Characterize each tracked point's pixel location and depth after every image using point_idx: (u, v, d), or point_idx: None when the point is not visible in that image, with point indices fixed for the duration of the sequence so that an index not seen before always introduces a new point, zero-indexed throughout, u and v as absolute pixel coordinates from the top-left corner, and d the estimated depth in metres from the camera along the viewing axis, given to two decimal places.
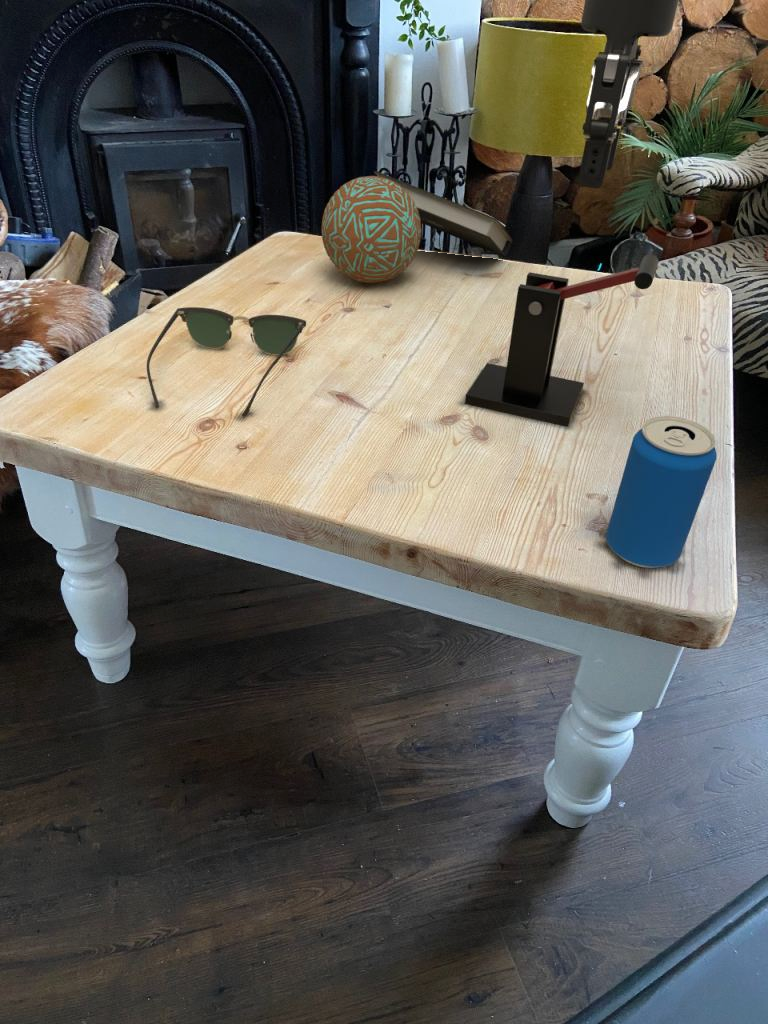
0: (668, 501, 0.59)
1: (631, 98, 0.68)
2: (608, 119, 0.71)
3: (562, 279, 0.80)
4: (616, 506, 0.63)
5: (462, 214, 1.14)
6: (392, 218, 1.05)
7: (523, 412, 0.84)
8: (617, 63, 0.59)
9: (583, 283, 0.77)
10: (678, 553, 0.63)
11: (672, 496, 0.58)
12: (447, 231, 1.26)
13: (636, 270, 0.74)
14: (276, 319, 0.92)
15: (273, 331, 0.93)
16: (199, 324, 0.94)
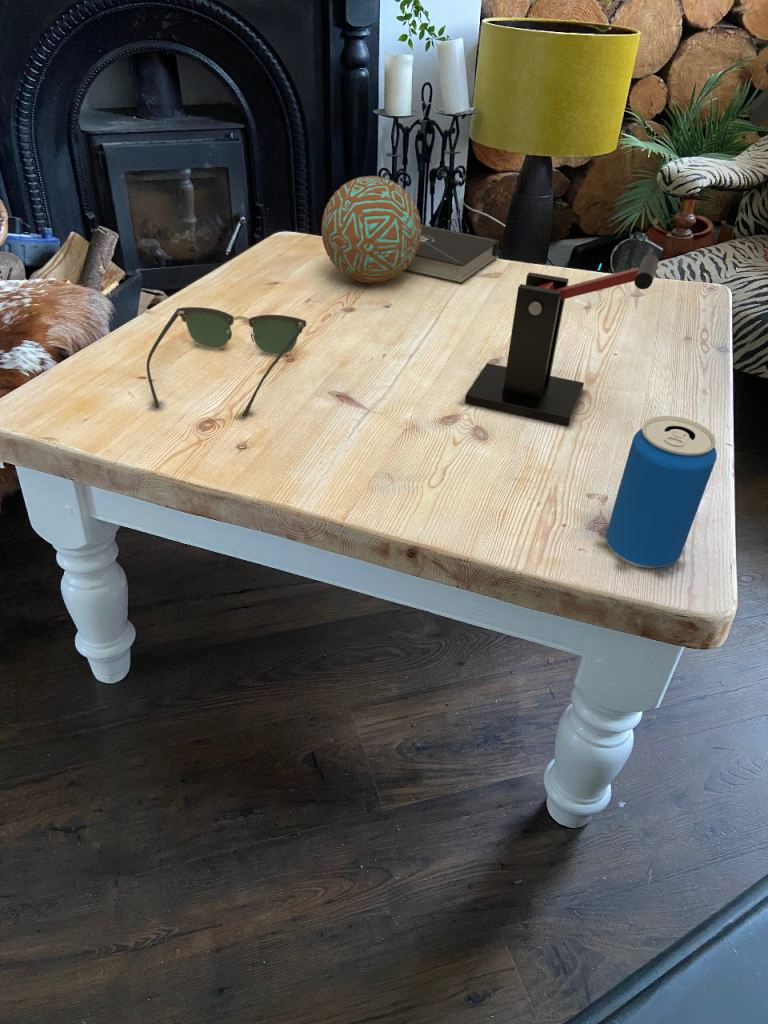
0: (668, 501, 0.59)
1: None
2: None
3: (562, 279, 0.80)
4: (616, 506, 0.63)
5: (432, 262, 1.18)
6: (392, 218, 1.05)
7: (523, 412, 0.84)
8: None
9: (583, 283, 0.77)
10: (678, 553, 0.63)
11: (672, 496, 0.58)
12: None
13: (636, 270, 0.74)
14: (276, 319, 0.92)
15: (273, 331, 0.93)
16: (199, 324, 0.94)
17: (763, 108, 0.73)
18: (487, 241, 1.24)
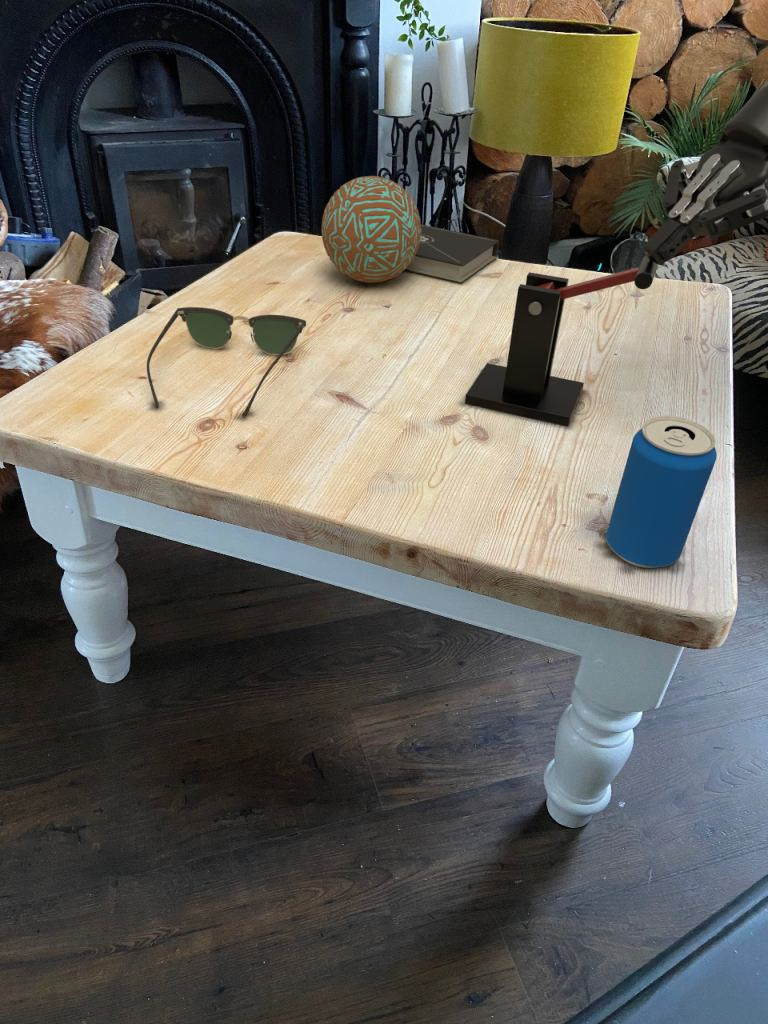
0: (668, 501, 0.59)
1: None
2: None
3: (562, 279, 0.80)
4: (616, 506, 0.63)
5: (431, 262, 1.18)
6: (392, 218, 1.05)
7: (523, 412, 0.84)
8: (763, 211, 0.68)
9: (583, 283, 0.77)
10: (678, 553, 0.63)
11: (672, 496, 0.58)
12: None
13: (636, 270, 0.74)
14: (276, 319, 0.92)
15: (273, 331, 0.93)
16: (199, 324, 0.94)
17: None
18: (487, 241, 1.24)
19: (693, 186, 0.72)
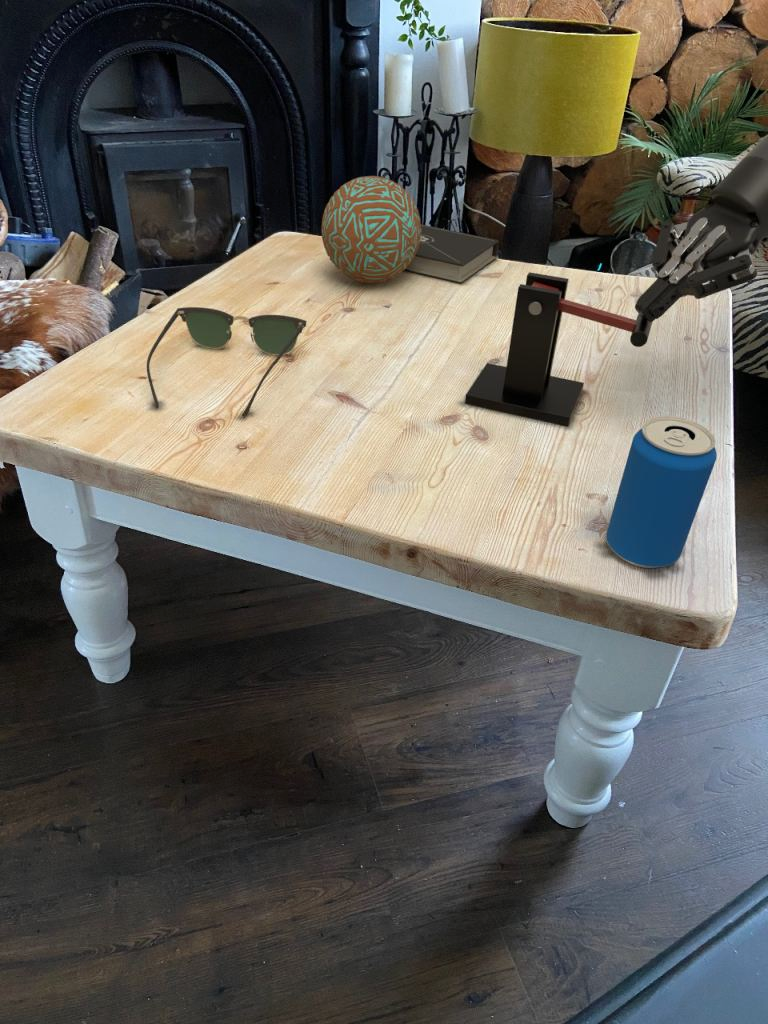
0: (668, 501, 0.59)
1: None
2: None
3: (562, 279, 0.80)
4: (616, 506, 0.63)
5: (431, 262, 1.18)
6: (392, 218, 1.05)
7: (523, 412, 0.84)
8: (748, 275, 0.71)
9: (585, 307, 0.79)
10: (678, 553, 0.63)
11: (672, 496, 0.58)
12: None
13: (635, 323, 0.77)
14: (276, 319, 0.92)
15: (273, 331, 0.93)
16: (199, 324, 0.94)
17: None
18: (487, 241, 1.24)
19: (681, 248, 0.75)
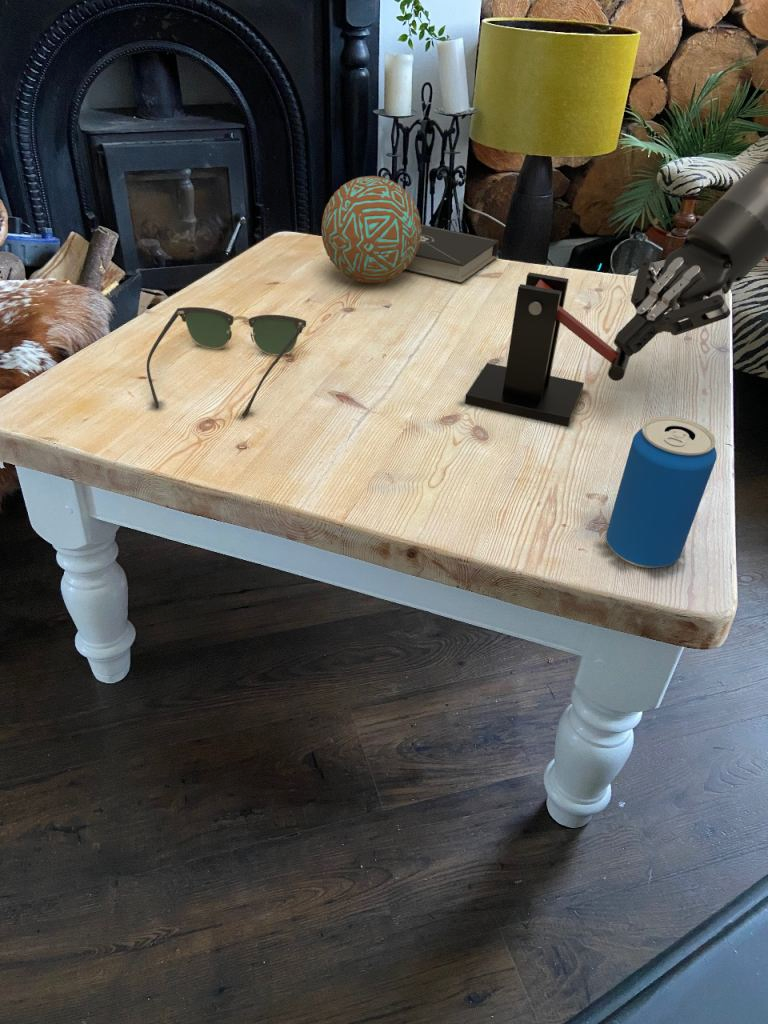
0: (668, 501, 0.59)
1: None
2: None
3: (562, 279, 0.80)
4: (616, 506, 0.63)
5: (431, 262, 1.18)
6: (392, 218, 1.05)
7: (523, 412, 0.84)
8: (721, 314, 0.74)
9: (578, 323, 0.80)
10: (678, 553, 0.63)
11: (672, 496, 0.58)
12: None
13: (616, 355, 0.80)
14: (276, 319, 0.92)
15: (273, 331, 0.93)
16: (199, 324, 0.94)
17: None
18: (487, 241, 1.24)
19: (658, 286, 0.78)
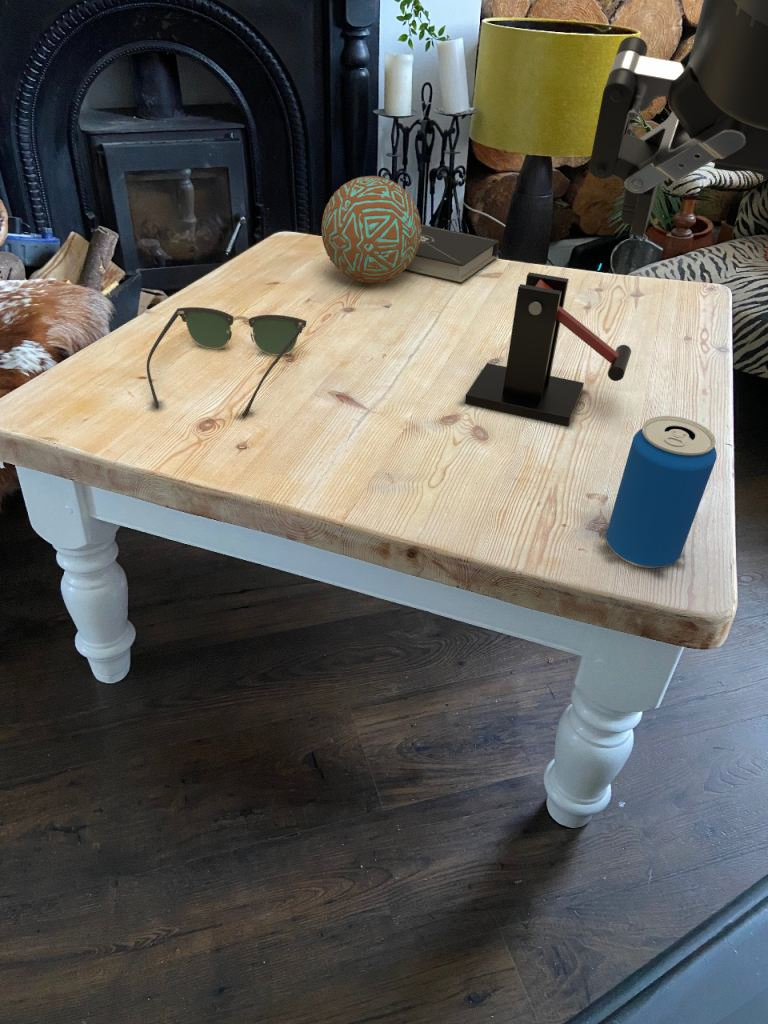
0: (668, 501, 0.59)
1: None
2: None
3: (562, 279, 0.80)
4: (616, 506, 0.63)
5: (431, 262, 1.18)
6: (392, 218, 1.05)
7: (523, 412, 0.84)
8: None
9: (578, 323, 0.80)
10: (678, 553, 0.63)
11: (672, 496, 0.58)
12: None
13: (616, 356, 0.80)
14: (276, 319, 0.92)
15: (273, 331, 0.93)
16: (199, 324, 0.94)
17: (649, 214, 0.39)
18: (487, 241, 1.24)
19: (678, 170, 0.34)
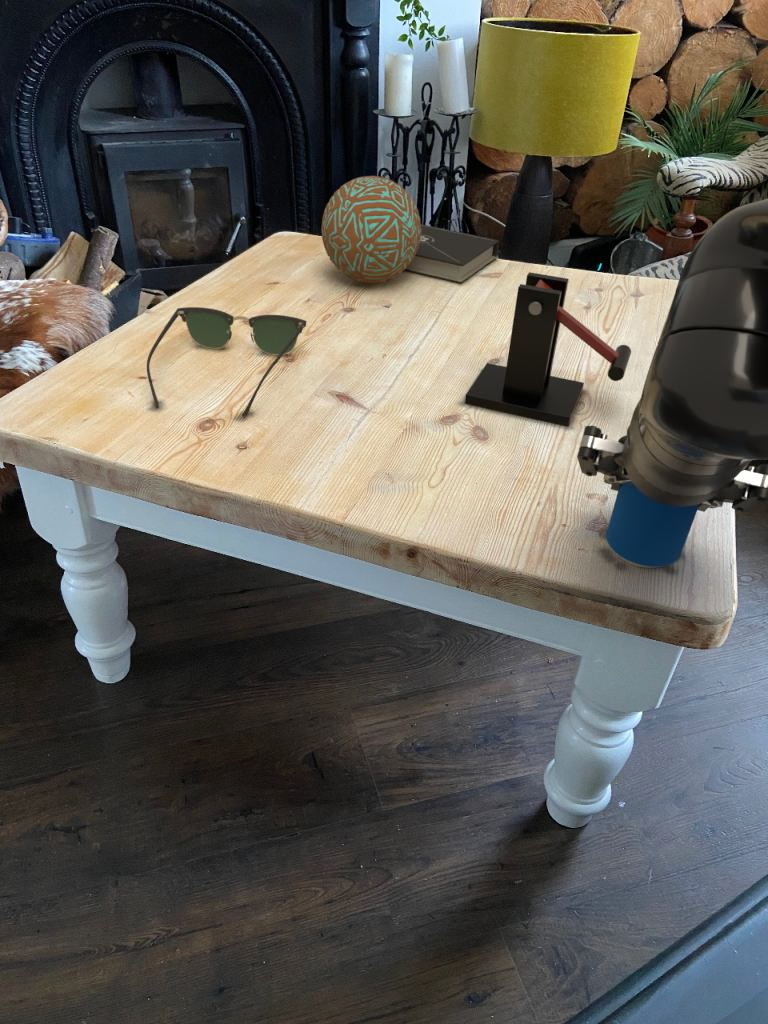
0: None
1: None
2: None
3: (562, 279, 0.80)
4: (616, 506, 0.63)
5: (431, 262, 1.18)
6: (392, 218, 1.05)
7: (523, 412, 0.84)
8: None
9: (578, 323, 0.80)
10: (678, 553, 0.63)
11: None
12: None
13: (616, 356, 0.80)
14: (276, 319, 0.92)
15: (273, 331, 0.93)
16: (199, 324, 0.94)
17: None
18: (487, 241, 1.24)
19: (628, 484, 0.58)
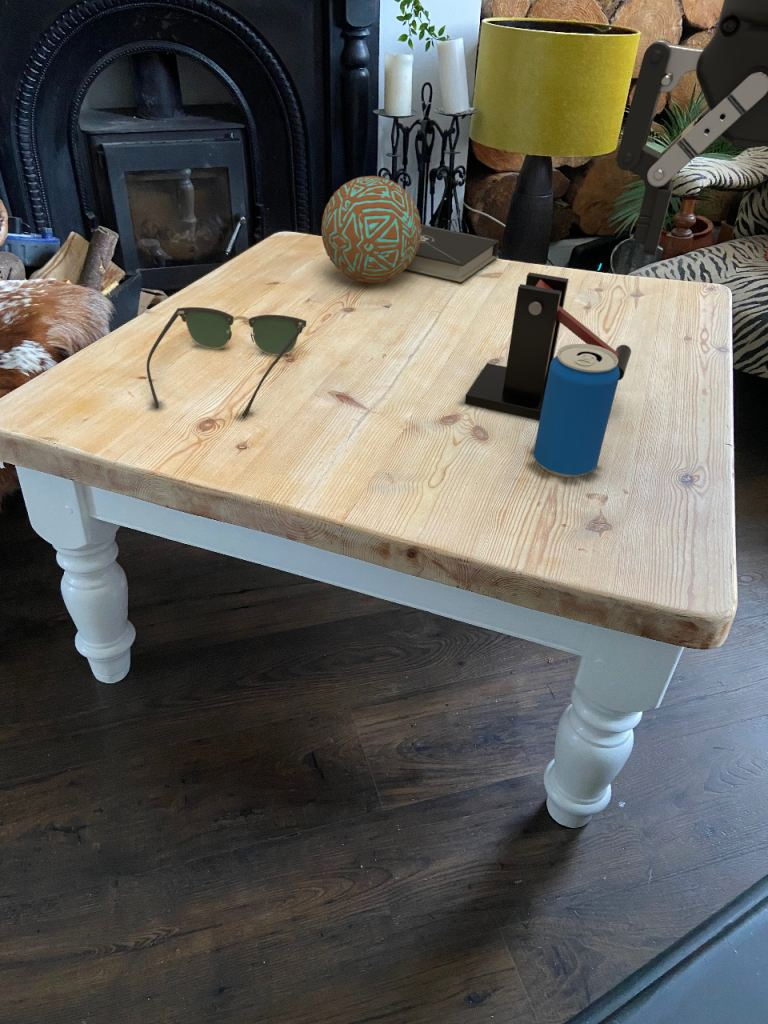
0: (578, 414, 0.69)
1: None
2: None
3: (562, 279, 0.80)
4: (539, 423, 0.74)
5: (431, 262, 1.18)
6: (392, 218, 1.05)
7: (523, 412, 0.84)
8: None
9: (578, 323, 0.80)
10: (592, 463, 0.73)
11: (581, 409, 0.69)
12: None
13: (616, 356, 0.80)
14: (276, 319, 0.92)
15: (273, 331, 0.93)
16: (199, 324, 0.94)
17: (660, 234, 0.42)
18: (487, 241, 1.24)
19: (703, 137, 0.38)
